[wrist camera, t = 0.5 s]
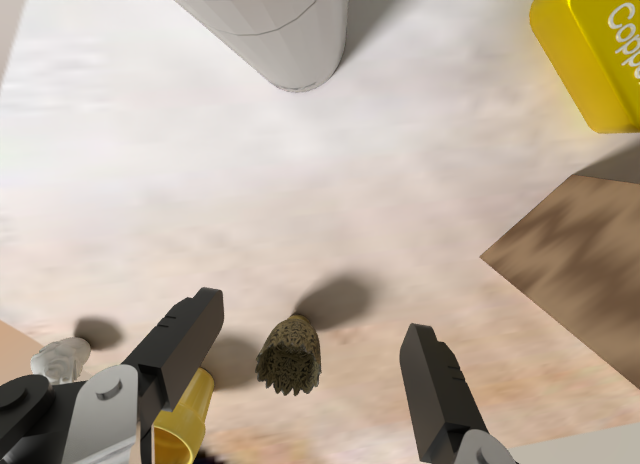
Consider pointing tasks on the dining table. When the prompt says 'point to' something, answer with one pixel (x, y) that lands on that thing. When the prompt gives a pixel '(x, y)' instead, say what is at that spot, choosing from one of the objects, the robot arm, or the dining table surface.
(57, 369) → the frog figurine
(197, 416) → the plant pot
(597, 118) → the element tile
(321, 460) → the dining table surface
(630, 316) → the walnut post
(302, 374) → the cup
